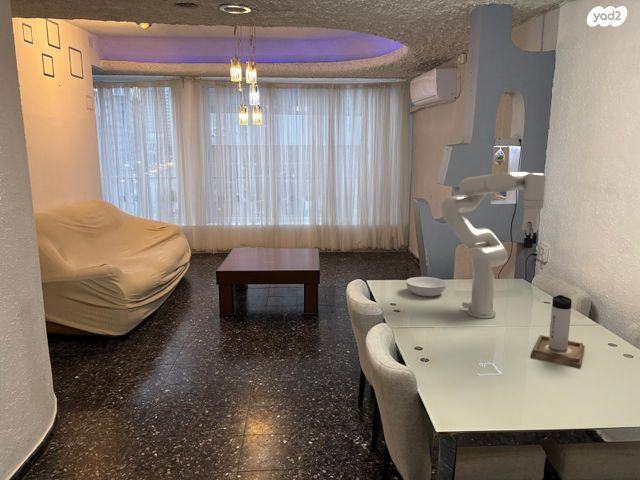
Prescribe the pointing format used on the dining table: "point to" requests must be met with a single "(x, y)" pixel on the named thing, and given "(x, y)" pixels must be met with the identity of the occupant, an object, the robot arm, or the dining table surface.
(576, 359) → the wooden tray
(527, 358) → the dining table surface
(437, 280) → the serving bowl
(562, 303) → the travel mug
